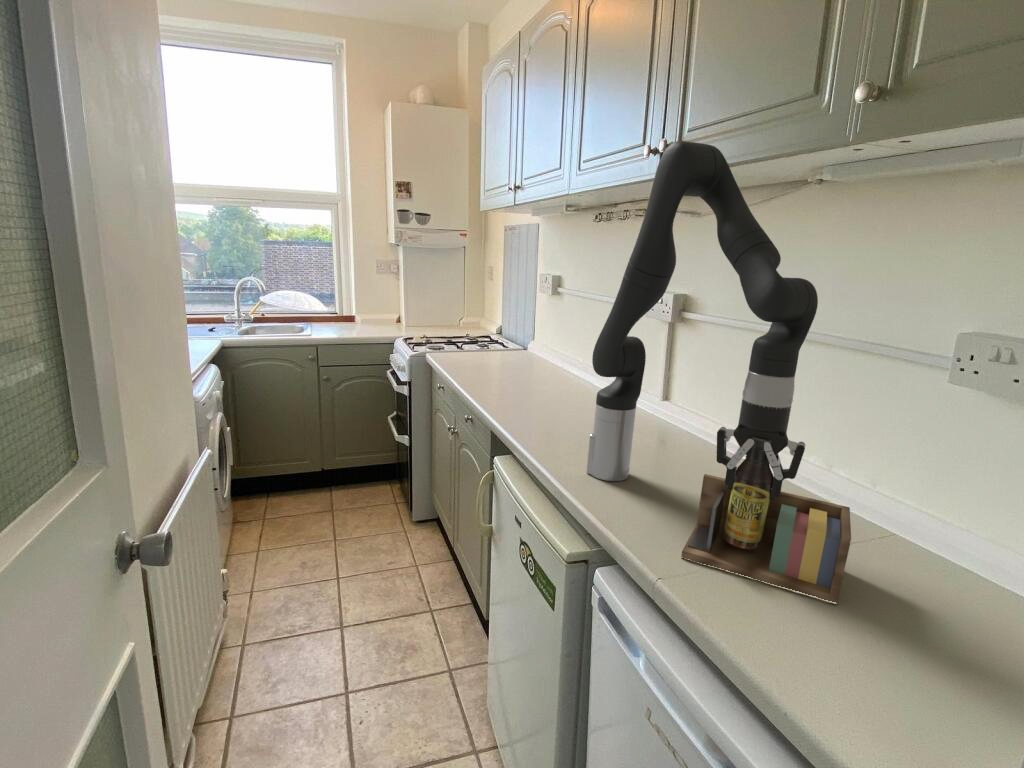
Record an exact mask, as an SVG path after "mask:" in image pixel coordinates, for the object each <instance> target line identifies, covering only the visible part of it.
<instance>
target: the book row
mask: <svg viewBox="0 0 1024 768" xmlns="http://www.w3.org/2000/svg"><path fill="white" fill-rule="evenodd" d="M796 510H797V507H792V506H788V505H784V504H782V506H781V510H780V514H779V518H778V522H777V527H776V533H775V539H774V544H773V550H772V555H771V561H770V566H769V571H773V572H776V573H780V574H783V575H786V576H790V577H793V578H797V579H800V580H804V581H807V582H810V583H814V584H817V585H821V586H824V587H827V588H830V586H831V581H832V577H833V572H834V567H835V562H836V557H837V553H838V548H839V543H840V519H835V518H831V517H827V512H825V511H821V510H817V509H812V508H810V512H809V514H805V513H801V512H797V511H796Z"/></svg>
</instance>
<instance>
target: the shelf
mask: <svg viewBox="0 0 1024 768" xmlns="http://www.w3.org/2000/svg"><path fill="white" fill-rule="evenodd" d="M721 490H725V496H724V502H723V509H722V515H721V522H720V528H719V533H718V535H717V538H716V540H715V542H714V544H713V546H712V549H711V551H710V553H708V552H705V551H701V550H698V549H694V548H691V547H688V544H689V542H690V540H691V539H692V537H693V535H694V533H695V531H696V529H697V527H698V526H703V527H707V528H710V522H711V515H712V509H713V506H714V504H715V502H716V500H717V498H718V496H719V494H720V492H721ZM700 491H701V492H700V499H699V500H700V501H699V506H698V513H697V519H696V524H695V527H694V529H693V530H692V532H691V534H690V536H689V538H688V540H687V541H686V543H685V544H684V547H683V549H682V550H681V556H680V557H683V558H686V559H690V560H692V561H695V562H699V563H702V564H706V565H710V566H714V567H717V568H721V569H724V570H728V571H730V572H734V573H738V574H741V575H744V576H748V577H751V578H753V579H757V580H760V581H764V582H767V583H770V584H774V585H777V586H781V587H785V588H788V589H792V590H795V591H799V592H802V593H805V594H808V595H812V596H816V597H818V598H821V599H824V600H828V601H832V602H836V603H837V604H838V602H839V597H840V592H841V589H842V588H841V587H842V583H843V579H844V574H845V568H846V564H847V559H848V555H849V551H850V546H851V541H852V527H851V526H852V525H851V507H849V506H846V505H841V504H837V503H833V502H832V503H831V502H827V501H825V500H820V499H815V498H811V497H806V496H803V495H798V494H794V493H789V492H785V491H781V492H780V495H779V497H775V499H774V500H773V499H770V501H769V506H768V510H767V515H766V520H765V525H764V529H763V534H762V539H761V541H760V544H759V546H758V547H757V548H755V549H752V550H748V549H743V548H737V547H735V546H733V545H731V544H729V543H728V542H727V541H726V540H725V539H724V527H725V522H726V516H727V512H728V507H729V501H730V496H731V491H732V490H731V489H728V485H725V478H723V477H719V476H715V475H711V474H707V473H705V474H704V475H703V479H702V485H701V490H700ZM782 504H784V505H788V506H792V507H797V510H796V511H797V512H801V513H805V514H809V512H810V508H812V509H817V510H821V511H825V512H827V517H831V518H835V519H840V543H839V548H838V553H837V557H836V562H835V567H834V572H833V577H832V581H831V586H830V588H827V587H824V586H821V585H817V584H814V583H810V582H807V581H804V580H800V579H797V578H793V577H790V576H786V575H783V574H780V573H776V572H773V571H769V566H770V561H771V555H772V550H773V544H774V539H775V533H776V527H777V522H778V518H779V514H780V510H781V506H782ZM692 561H691V562H692ZM695 562H694V563H695ZM702 564H701V565H702Z"/></svg>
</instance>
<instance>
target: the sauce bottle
mask: <svg viewBox="0 0 1024 768" xmlns="http://www.w3.org/2000/svg"><path fill="white" fill-rule="evenodd" d="M752 438H753V440H754V445H753V446H752V447H751V448H750V449H749V450H750V451H749V454H748V456H747V455H745V459H743V460H742V461H741V463H740V464H739V465H738V466H737V470H736V475H735V480H734V483H733V487H732V491H731V496H730V501H729V507H728V512H727V516H726V522H725V527H724V539H725V540H726V541H727V542H728V543H729V544H731V545H733V546H735V547H737V548H743V549H748V550H752V549H755V548H757V547H758V546H759V544H760V541H761V539H762V534H763V529H764V525H765V520H766V515H767V510H768V506H769V501H770V495H771V489H772V483H773V478H774V473H773V470H771V469H772V468H771V466H770V463H769V461H768V458H767V455H766V452H765V450H764V443H765V442H770V443H771V444H772V441H768V440H764V439H760V438H755V437H752Z"/></svg>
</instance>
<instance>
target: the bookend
mask: <svg viewBox="0 0 1024 768" xmlns="http://www.w3.org/2000/svg"><path fill="white" fill-rule="evenodd" d="M724 496H725V490H721V492H720V494H719V496H718V498H717V500H716V502H715V504H714V506H713V509H712V515H711V522H710V528H707V527H703V526H698V527H697V529H696V531H695V533H694V535H693V537H692V539H691V540H690V542H689V544H688V547H691V548H694V549H698V550H701V551H705V552H708V553H710V551H711V549H712V546H713V544H714V542H715V540H716V538H717V535H718V533H719V528H720V522H721V515H722V509H723V502H724Z"/></svg>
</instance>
